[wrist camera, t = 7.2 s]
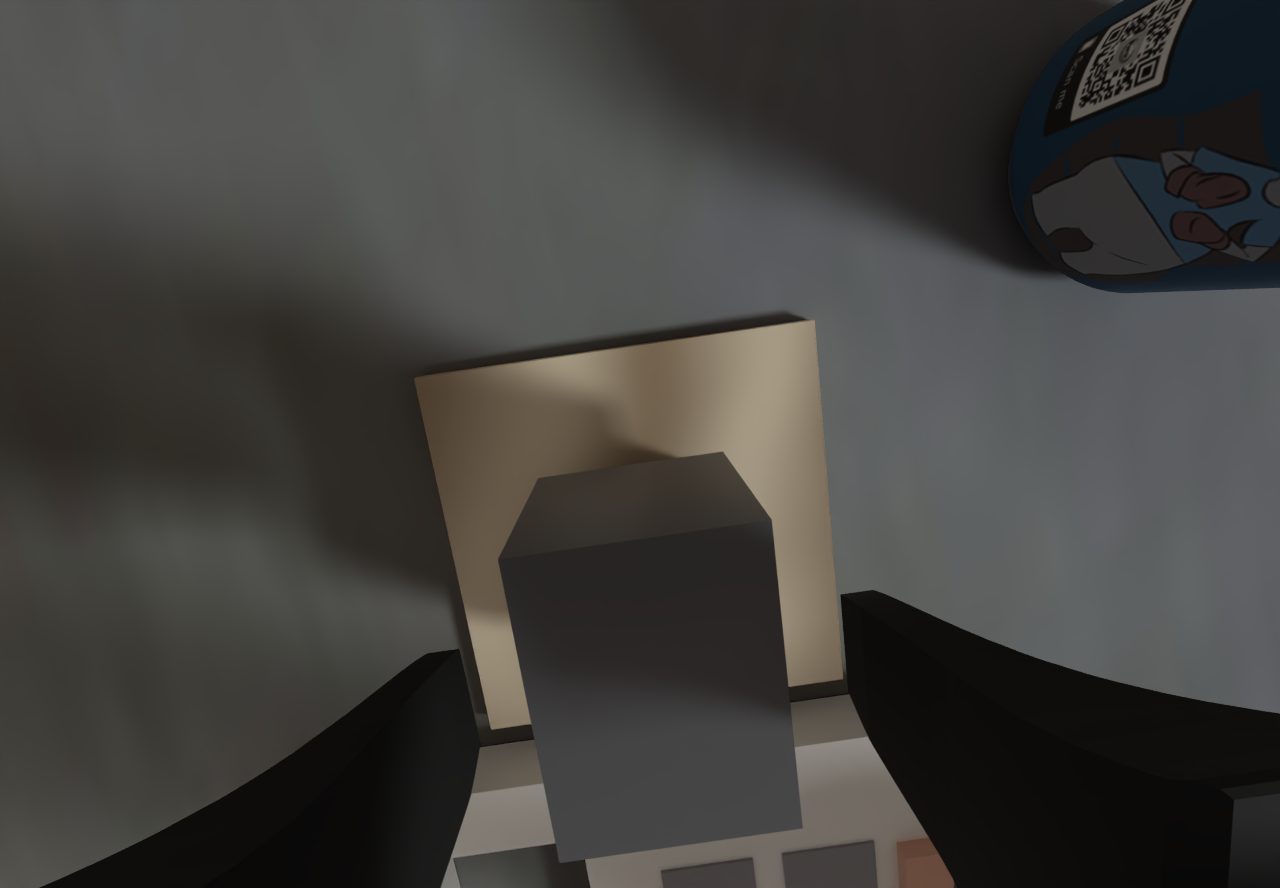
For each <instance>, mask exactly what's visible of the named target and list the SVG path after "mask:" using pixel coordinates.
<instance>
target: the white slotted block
mask: <svg viewBox="0 0 1280 888" xmlns="http://www.w3.org/2000/svg"><path fill="white" fill-rule="evenodd" d="M790 705H791V715H792V725H793V735H794V745H795V755H796V765H797V775H798V785H799V795H800V805H801V815H802V825H803V828H802V829H795V830H788V831H781V832H774V833H767V834H760V835H753V836H746V837H739V838H732V839H725V840H718V841H711V842H704V843H697V844H690V845H683V846H676V847H669V848H662V849H655V850H648V851H641V852H634V853H627V854H620V855H613V856H606V857H599V858H592V859H585V862H586V867H587V873H588V878H589V883H590V888H954V880H953V878H952V877H951V875H950V873H949V871H948V869H947V868H946V866H945V864H944V862H943V861H942V859H941V857H940V855H939V853H938V852H937V850H936V849H935V847H934V845H933V844H932V842H931V840H930V839H929V837H928V836H927V834H926V832H925V831H924V829H923V827H922V826H921V824H920V823H919V821H918V819H917V818H916V816H915V814H914V813H913V811H912V809H911V808H910V806H909V805H908V803H907V801H906V800H905V798H904V796H903V795H902V793H901V792H900V790H899V788H898V787H897V785H896V783H895V782H894V780H893V779H892V777H891V775H890V774H889V772H888V770H887V769H886V767H885V765H884V764H883V762H882V760H881V759H880V757H879V755H878V754H877V752H876V750H875V749H874V747H873V745H872V743H871V742H870V740H869V738H868V736H867V733H866V731H865V729H864V727H863V725H862V723H861V720H860V718H859V716H858V714H857V711H856V709H855V707H854V704H853V702H852V700H851V697H850V695H849V694H847V695H841V696H834V697H827V698H820V699H813V700H806V701H799V702H792V703H790ZM554 843H555V838H554V833H553V829H552V824H551V819H550V814H549V809H548V804H547V799H546V794H545V789H544V784H543V779H542V774H541V770H540V765H539V760H538V755H537V750H536V745H535V740H528V741H521V742H514V743H507V744H500V745H493V746H486V747H480V750H479V756H478V762H477V767H476V773H475V778H474V783H473V788H472V792H471V797H470V800H469V803H468V807H467V810H466V813H465V816H464V819H463V822H462V825H461V828H460V831H459V834H458V838H457V841H456V844H455V847H454V850H453V852H452V855H451V858H450V861H449V864H448V867H447V870H446V873H445V876H444V879H443V882H442V885H441V888H460V884H459V880H458V876H457V872H456V868H455V864H454V860H453V858H457V857H464V856H471V855H478V854H485V853H492V852H499V851H506V850H513V849H520V848H526V847H533V846H540V845H547V844H554Z"/></svg>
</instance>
